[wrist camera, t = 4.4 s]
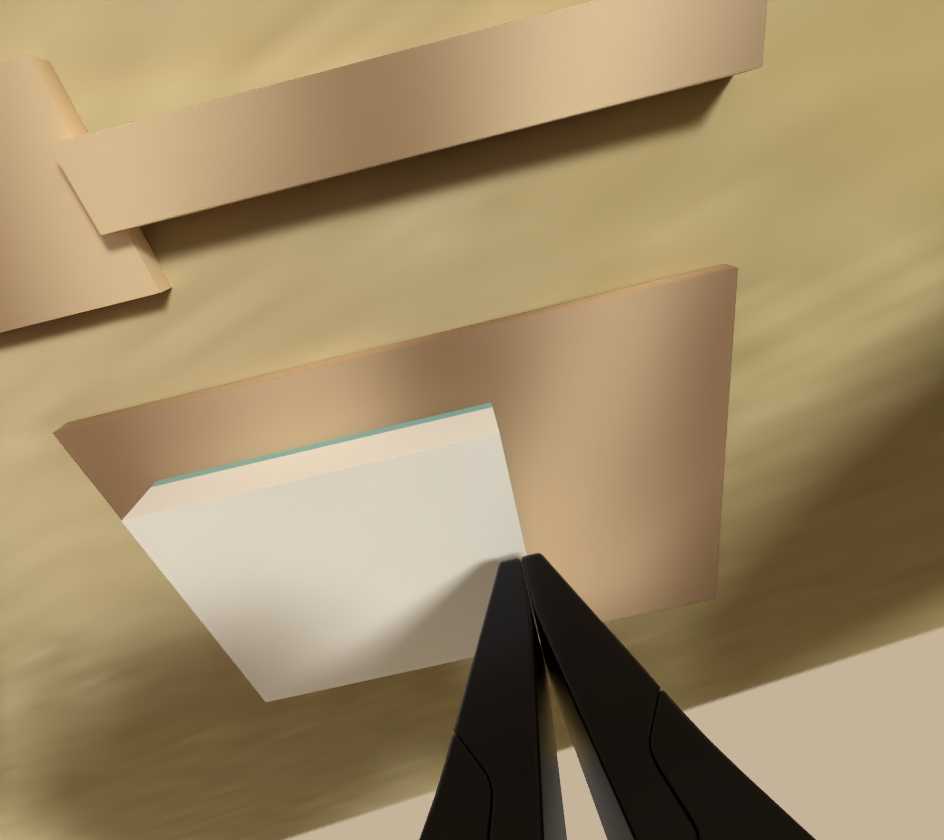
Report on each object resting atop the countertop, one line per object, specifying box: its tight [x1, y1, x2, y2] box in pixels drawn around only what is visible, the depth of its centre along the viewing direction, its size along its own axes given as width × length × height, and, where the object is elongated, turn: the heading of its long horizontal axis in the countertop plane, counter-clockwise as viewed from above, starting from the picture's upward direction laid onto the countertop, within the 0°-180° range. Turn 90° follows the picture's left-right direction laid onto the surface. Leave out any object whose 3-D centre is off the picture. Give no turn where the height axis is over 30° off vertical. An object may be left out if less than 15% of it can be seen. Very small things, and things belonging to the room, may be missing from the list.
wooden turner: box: [0, 0, 767, 333], centre depth 7 cm, size 15×3×1 cm, turn 103°
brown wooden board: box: [53, 264, 738, 623], centre depth 11 cm, size 13×9×1 cm
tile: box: [121, 403, 540, 702], centre depth 10 cm, size 1×6×7 cm
